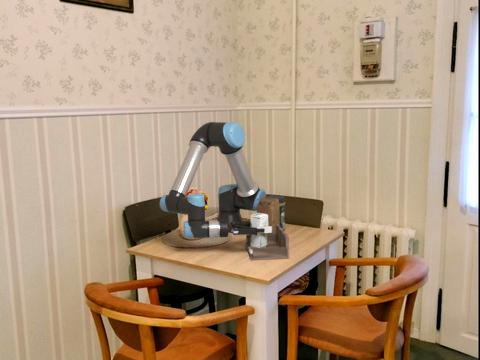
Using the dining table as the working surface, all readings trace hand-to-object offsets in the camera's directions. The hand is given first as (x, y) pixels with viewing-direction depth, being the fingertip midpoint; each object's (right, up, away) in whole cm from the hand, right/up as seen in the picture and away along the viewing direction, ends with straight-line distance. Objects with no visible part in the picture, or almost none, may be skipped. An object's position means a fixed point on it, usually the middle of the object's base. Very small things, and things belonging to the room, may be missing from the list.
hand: (269, 227), depth 199 cm
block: (+1, -8, +25) cm, 26 cm away
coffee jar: (+6, -6, +39) cm, 40 cm away
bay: (-2, -11, +2) cm, 11 cm away
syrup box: (-5, -9, +1) cm, 10 cm away
